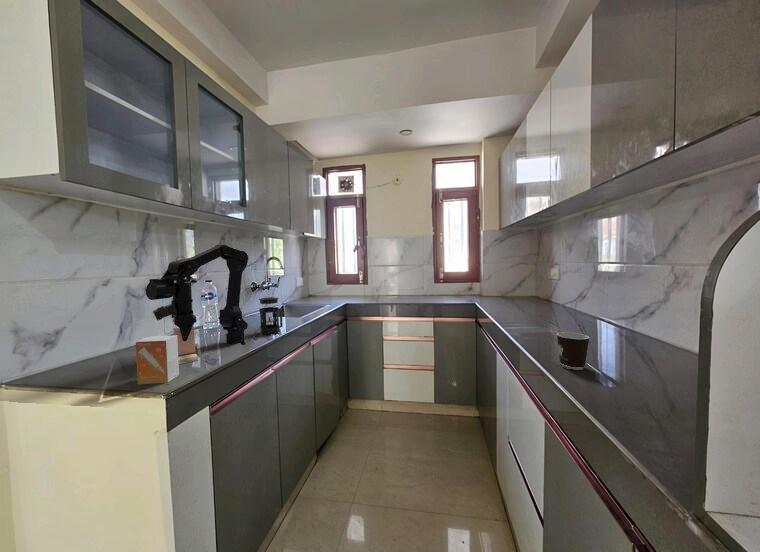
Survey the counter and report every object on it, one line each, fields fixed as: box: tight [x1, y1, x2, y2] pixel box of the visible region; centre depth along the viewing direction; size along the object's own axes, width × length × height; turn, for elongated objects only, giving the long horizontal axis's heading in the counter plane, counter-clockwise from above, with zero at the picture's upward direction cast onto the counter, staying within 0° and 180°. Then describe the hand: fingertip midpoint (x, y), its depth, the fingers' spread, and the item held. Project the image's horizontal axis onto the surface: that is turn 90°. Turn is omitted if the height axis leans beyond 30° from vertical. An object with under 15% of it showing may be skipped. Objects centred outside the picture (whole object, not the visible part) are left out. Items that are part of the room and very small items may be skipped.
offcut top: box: [178, 353, 199, 365], centre depth 105 cm, size 6×4×2 cm
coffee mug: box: [556, 331, 590, 367], centre depth 97 cm, size 12×9×10 cm
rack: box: [181, 343, 202, 358], centre depth 111 cm, size 9×8×4 cm
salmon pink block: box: [172, 325, 196, 356], centre depth 108 cm, size 6×3×9 cm, turn 127°
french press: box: [258, 285, 283, 336], centre depth 148 cm, size 12×9×23 cm
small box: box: [135, 334, 180, 386], centre depth 89 cm, size 8×6×13 cm
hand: (184, 340), depth 108 cm, fingers closed on salmon pink block, 3 cm apart
